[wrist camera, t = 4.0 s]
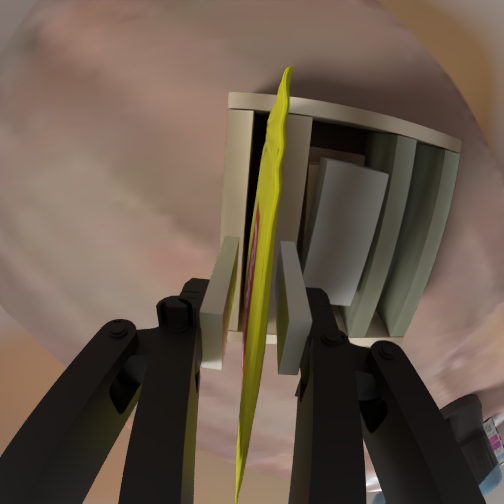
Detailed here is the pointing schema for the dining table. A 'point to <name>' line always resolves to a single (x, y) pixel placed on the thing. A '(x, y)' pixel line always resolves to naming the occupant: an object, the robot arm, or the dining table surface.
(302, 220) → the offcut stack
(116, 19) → the dining table surface
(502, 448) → the candy bar box
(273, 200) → the food package
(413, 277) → the rack
